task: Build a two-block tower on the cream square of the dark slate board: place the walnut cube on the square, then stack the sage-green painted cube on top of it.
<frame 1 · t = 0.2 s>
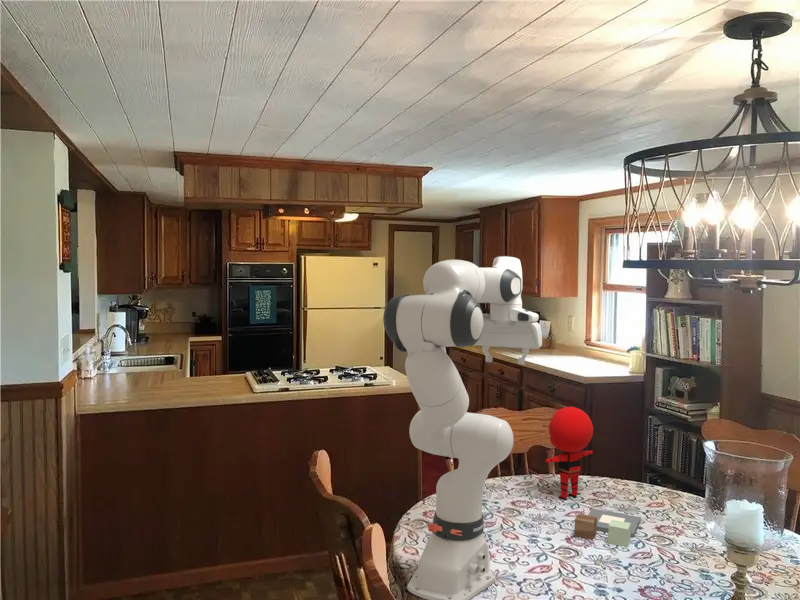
hand: (505, 363, 176), 47 cm above the table, tool pointing down, fingers open, 8 cm apart
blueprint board: (611, 524, 182), on the table
walnut block: (585, 535, 174), on the table
sage block: (619, 542, 170), on the table
toy: (569, 499, 204), on the table
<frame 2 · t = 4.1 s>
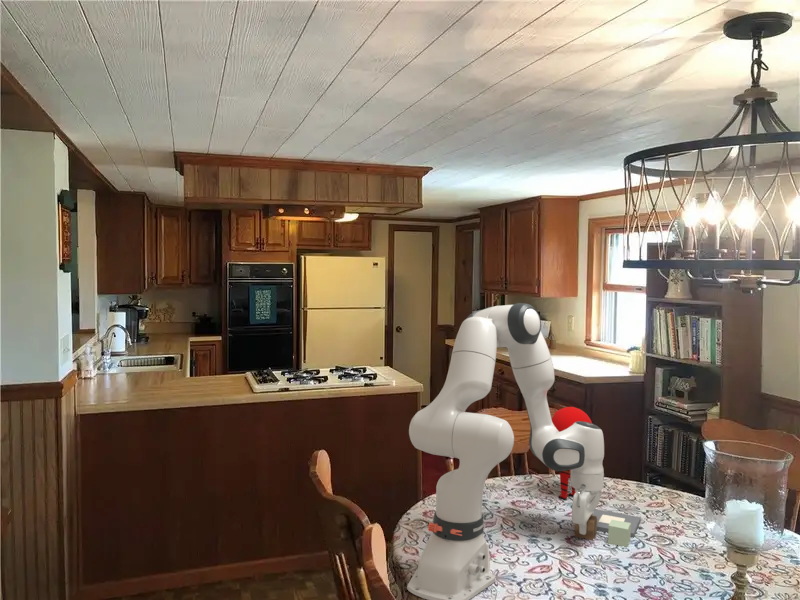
hand: (585, 529, 174), 2 cm above the table, tool pointing down, fingers closed on walnut block, 5 cm apart
walnut block: (585, 535, 174), on the table, touching gripper
everything else where it was.
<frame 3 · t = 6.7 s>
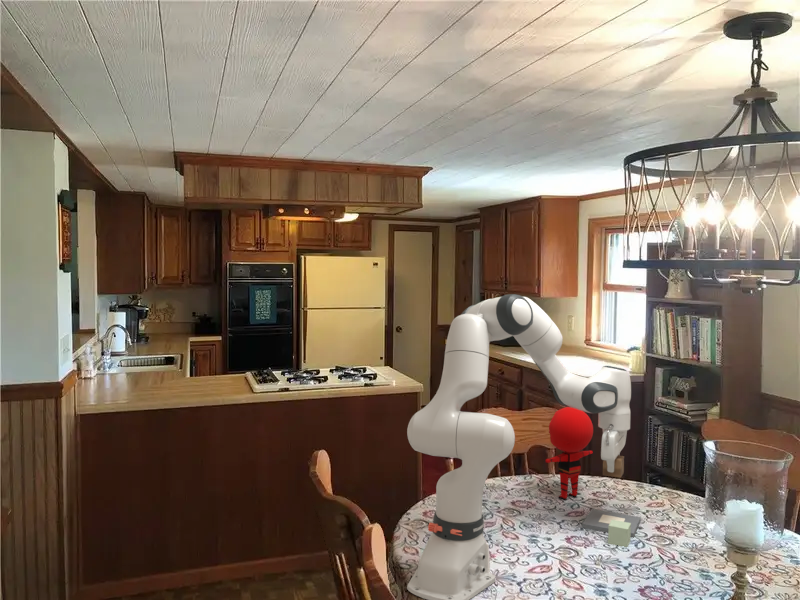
hand: (612, 468, 182), 16 cm above the table, tool pointing down, fingers closed on walnut block, 5 cm apart
walnut block: (613, 474, 182), point 15 cm above the table, touching gripper
everything else where it was.
when the fingers open (4 cm above the table, at t = 9.3 s): walnut block stays where it is, resting on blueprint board.
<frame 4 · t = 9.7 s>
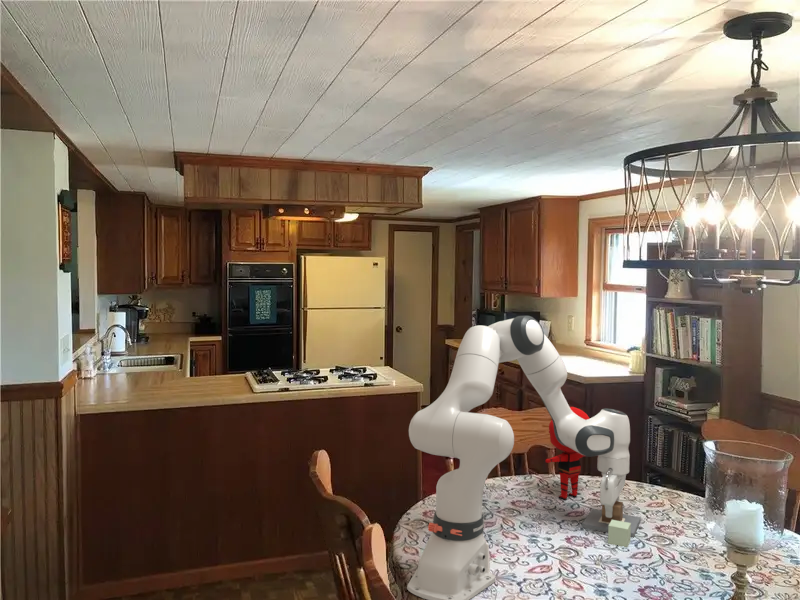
hand: (612, 511, 182), 4 cm above the table, tool pointing down, fingers open, 8 cm apart
walnut block: (612, 520, 182), point 1 cm above the table, touching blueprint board
everything else where it was.
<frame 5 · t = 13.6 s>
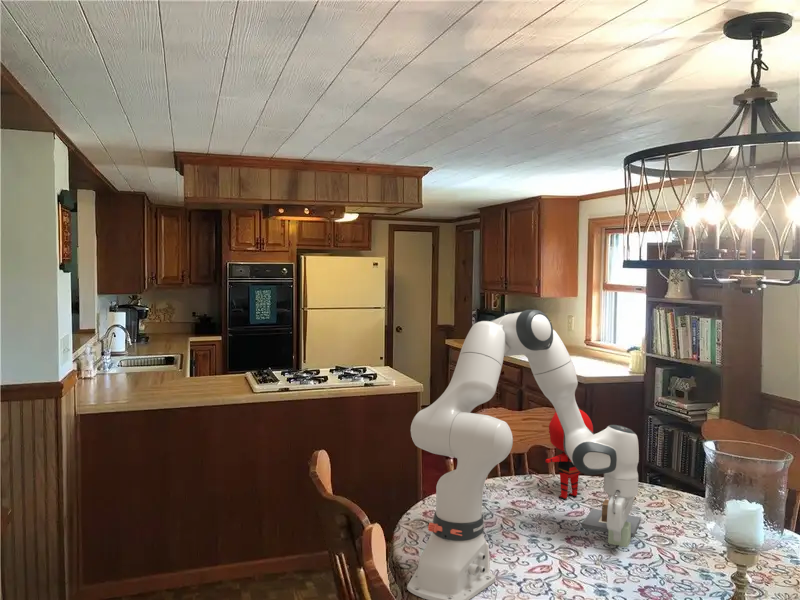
hand: (619, 536, 170), 2 cm above the table, tool pointing down, fingers closed on sage block, 5 cm apart
sage block: (619, 542, 170), on the table, touching gripper
everything else where it was.
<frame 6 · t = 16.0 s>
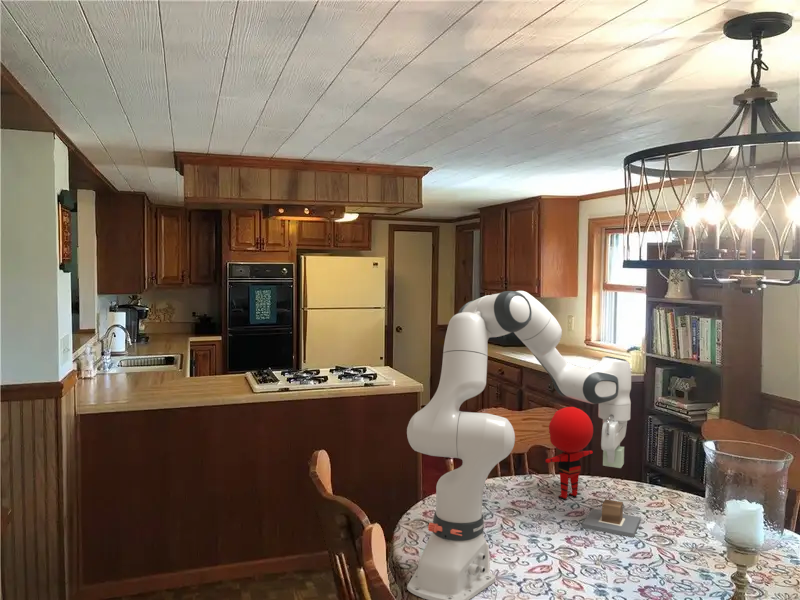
hand: (613, 459, 182), 19 cm above the table, tool pointing down, fingers closed on sage block, 5 cm apart
sage block: (613, 464, 182), point 18 cm above the table, touching gripper
everything else where it was.
when the fingers open (9 cm above the table, at t = 18.7 s): sage block drops 1 cm, resting on walnut block.
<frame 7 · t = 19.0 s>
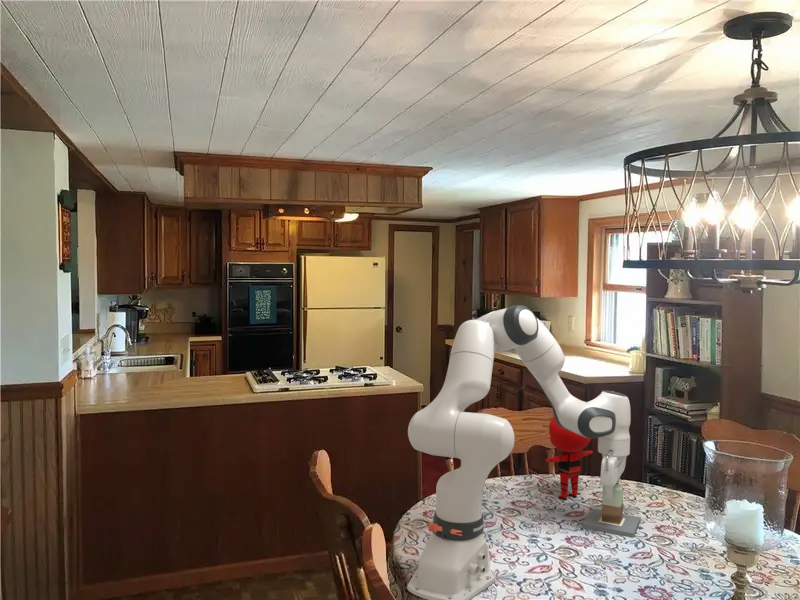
hand: (612, 493, 182), 9 cm above the table, tool pointing down, fingers open, 8 cm apart
walnut block: (612, 520, 182), point 1 cm above the table, touching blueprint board, sage block
sage block: (612, 503, 182), point 6 cm above the table, touching walnut block
everything else where it was.
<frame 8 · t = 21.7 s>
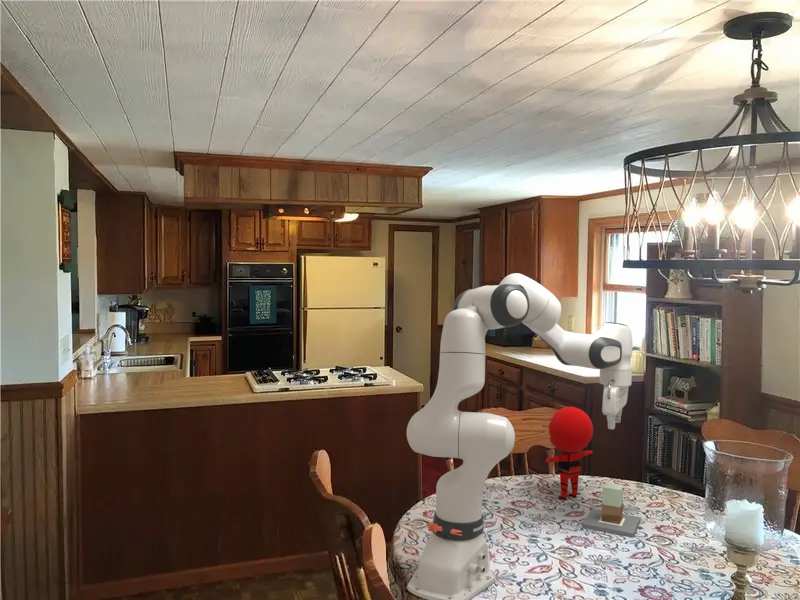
hand: (614, 425, 182), 29 cm above the table, tool pointing down, fingers open, 8 cm apart
nothing on the table moved.
at the end: walnut block 0.1 cm off-centre on the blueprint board, point 1.3 cm above the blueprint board's base; sage block 0.0 cm from the walnut block (horizontally); sage block point 6.3 cm above the table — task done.
